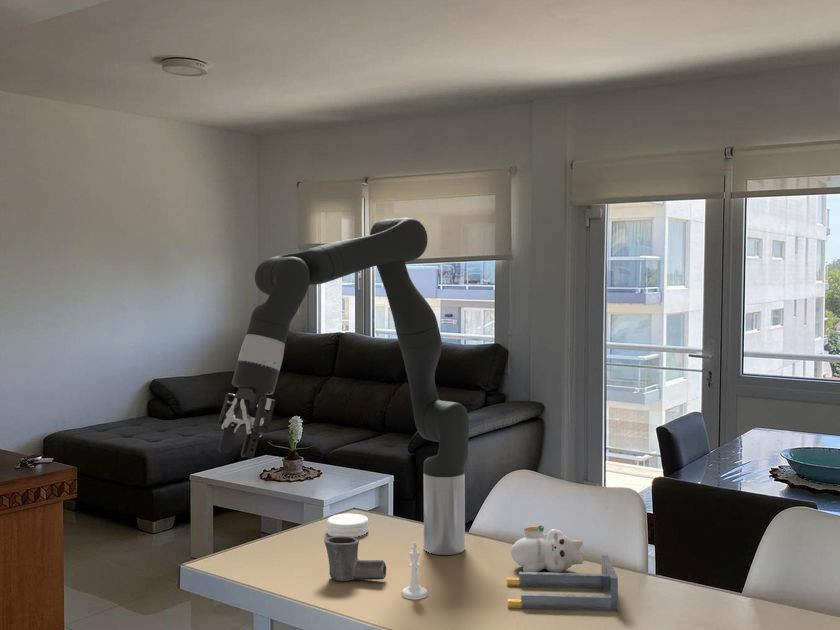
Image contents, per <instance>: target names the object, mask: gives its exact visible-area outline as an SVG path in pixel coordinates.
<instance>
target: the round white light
mask: <svg viewBox="0 0 840 630" xmlns="http://www.w3.org/2000/svg"><path fill="white" fill-rule="evenodd" d="M369 526H370V525H369V518H368V517H367V516H365V515H364V514H361V513H359V514H358V513H339V514H333V515H332V516H330V517H328V518H327V519H326V533H327V535H328V536H329V537H335V536H348V537H356V538H358V537H357V536H360V537H362V536H361V535H363V536H365V535H367V534H368V533H369ZM367 532H368V533H367ZM366 533H367V534H366ZM364 534H365V535H364Z"/></svg>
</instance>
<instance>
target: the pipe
mask: <svg viewBox="0 0 840 630" xmlns="http://www.w3.org/2000/svg"><path fill="white" fill-rule="evenodd" d="M323 543H324V545H325V548H326V552H327V554H326V555H327V558H328V565H329V566H328V567H329V569H328V570H329V574H328V575H329V577H330V578H331V579H332V580H334V581H337V582H348V581H353V580H358V581H359V580H361V581H362V580H365V581H369V580H371V581H372V580H375V581H377V580H384V579H386V576H387V565H386V562H385V561H384V560H382V559H373V560H371V559H368V560H367V559H363V560H362V559H358V555H359V554H358V551H359V543H360V541H359V539H358V538H357V537H356V538H354V537H348V536H335V537H332V536H329V537H326V538H324V539H323Z"/></svg>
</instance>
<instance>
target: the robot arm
mask: <svg viewBox="0 0 840 630" xmlns="http://www.w3.org/2000/svg"><path fill="white" fill-rule="evenodd" d="M427 247H428V233H427V230H426V228H425V226H424V224H423V223H421V222H420V221H419V220H417V219H415V218H411V217H397V218H396V217H395V218H387V219H381V220H378V221H376V222H374V224H373V225H372V227H371V229H370V232H369V235H365V236H360V237H355V238H354V237H353V238H347V239H343V240H337V241H332V242H327V243H325V244H320V245H317V246H315V247H312V248H309V249H306V250H303V251H299V252H293V253H287V254H281V255H277V256H273V257H269V258H267V259H265V260H262V262H261V263H260V264H259V265H258V266H257V267H256V270H255V273H254V282H255V285H256V287H257V288H258V290H259V291H260V292H261V293H262V294H263V293H264V294H265V295H267V296H268V298H267V299H266V301H265V302H263V303H262V304H260V305H257V306H256V307H255V308H254V309H253V311H252V313H251V315H250V316H251V317H250V320H249V324H248V328H247V331H246V335H245V337H244V340H243V341H242V345H241V348H240V352H239V354H238V359H237V362H236V366H235V370H234V373H233V376H232V379H231V380H232V381H231V385H232V386H233V387H235V388H237V390H236V393H235V394H234V393H230V392H227V393H226V395H225V398H224V402H223V405H222V408H221V411H220V414H219V418H218V421H217V425H218V426H221V430H222V433H221V436H220V440H219V443H218V448H217V451H218V452H220V453H225V454H230V453H231V451H232V449H233V443H234V441H235V437H236V431H237V430H238V428H239V427H240V425H243V424H245V428H246V429H245V430H246V434H245V436H244V440H243V443H242V448H241V450H240V456H241V457H242V458H247V459H251V460H252V459H254V457H255V453H256V450H257V445H258V442H259V438H261V437H262V436H263V435H268V433H269V432H270V427H271V423H272V418H273V413H274V410H275V405H276V400H275V399H272V398H269V397H267V395H270V396H271V395H273V394H274V393H275V390H276V386H277V382H278V379H279V374H280V370H281V367H282V363H283V359H284V354H285V353H284V351H285V348H286V347H285V346H286V342H287V338H288V333H289V330H290V327H291V326H290V325H291V322H292V320H293V319H294V317H295V315H296V314H297V312H298V310H299V308H300V306H301V304H302V303H303V300H304V299H305V297H306V295H307V292H308V290H309V286H315V285H321V284H322V285H323V284H326V283H328V282H331V281H334V280H337V279H341V278H343V277H346V276H349V275H352V274H355V273H358V272H361V271H363V270H366V269H370V268H373V267H376V268H377V271H378V273H379V277H380V279H381V282H382V285H383V288H384V291H385V294H386V297H387V302H388V304H389V309H390V312H391V314H392V315H391V316H392V318H393V319H392V320H393V323H394V329H395V333H396V336H397V341H398V344H399V349H400V352H401V355H402V359H403V362H404V363H403V364H404V367H405V373H406V376H407V379H408V385H409V390H410V397H411V405H412V412H413V418H414V423H415V427H416V430H417V432H418V434H419V435H420V436H421V437H422V438H423V439H425V440H428V441H431V442H435V443H436V442H437V443H438V451H437V454H436V455H433V456H429V457H427V458H426V459H425V460H424V461H423V470H422V471H423V551H424V552H426V551H427V553H428V552H429V553H428V554H431V553H432V554H433V555H437V556H452V555H458V554H461V553H463V552H464V551H465V549H466V544H465V543H466V507H465V506H466V503H465V501H466V500H465V499H466V493H465V492H466V491H465V490H466V488H465V487H466V486H465V483H466V482H465V474H466V473H465V467H466V465H467V460H468V456H469V455H468V454H469V437H470V435H469V434H470V420H469V414H468V410H467V408H466V407H465V406H464V405H463V404H461V403H459V402H456V401H448V400H441V399H440V397H439V393H438V390H437V386H436V381H435V379H436V378H435V375H436V371H437V367H438V363H439V360H440V358H441V353H442V345H443V343H442V336H441V332H440V326H439V323H438V320H437V316H436V314H435V312H434V309H433V308H432V307H431V305H430V303H428V301H427V300H426V298H425V297H424V296H423V295H422V293H420V291H419V290H418V289H417V287H416V285H415V284H414V283H413V281H412V279H411V276H410V274H409V271H408V268H407V262H413V261H416V260H417V259H419V258H420V257H422V256H423V254H424V253H425V251H426V249H427Z"/></svg>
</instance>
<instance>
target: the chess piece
mask: <svg viewBox="0 0 840 630" xmlns="http://www.w3.org/2000/svg"><path fill="white" fill-rule="evenodd" d="M417 547H418V544H417V542H416V541H414V542H412V546H411V551H409V553H408V555H409V558H410V561H411V563H409V564H408V567H409V568H411V574H410V575H411V577H410V584H409V585H408V586H407V587H404V588H403V589H402V591H401V597H402V598H404V599H408V600H421V599H424V598H426V597H428V590H427V588H425V587H424V586H421V585H420V583H419V582H420V581H419V575H418V568H420V567H421V564H420V563H419V562H418V560H419V557H420V551H417Z"/></svg>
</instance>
